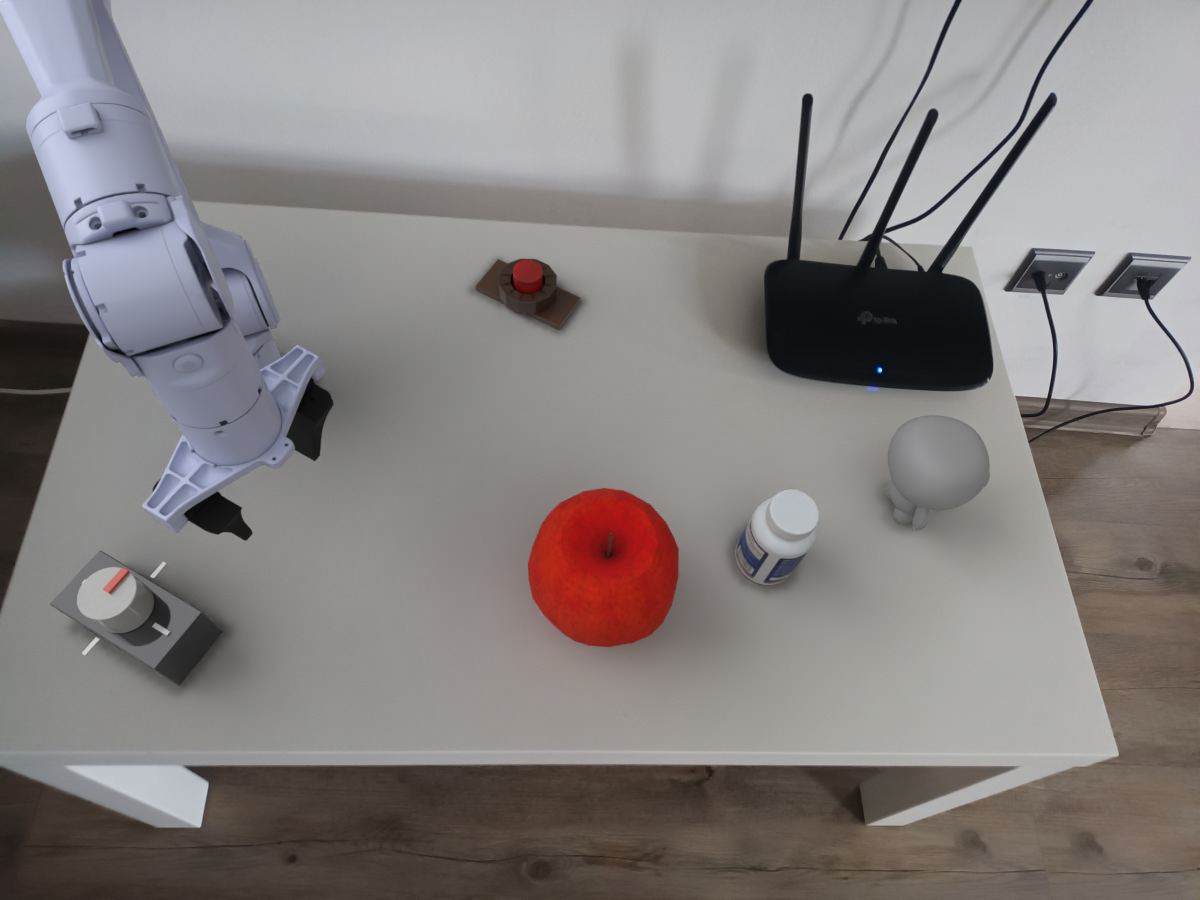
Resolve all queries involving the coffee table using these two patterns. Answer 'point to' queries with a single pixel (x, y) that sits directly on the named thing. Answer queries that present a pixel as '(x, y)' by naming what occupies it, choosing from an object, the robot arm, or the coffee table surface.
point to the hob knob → (115, 600)
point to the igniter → (541, 305)
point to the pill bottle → (777, 537)
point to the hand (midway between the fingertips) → (273, 490)
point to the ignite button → (527, 276)
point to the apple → (604, 568)
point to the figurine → (934, 467)
